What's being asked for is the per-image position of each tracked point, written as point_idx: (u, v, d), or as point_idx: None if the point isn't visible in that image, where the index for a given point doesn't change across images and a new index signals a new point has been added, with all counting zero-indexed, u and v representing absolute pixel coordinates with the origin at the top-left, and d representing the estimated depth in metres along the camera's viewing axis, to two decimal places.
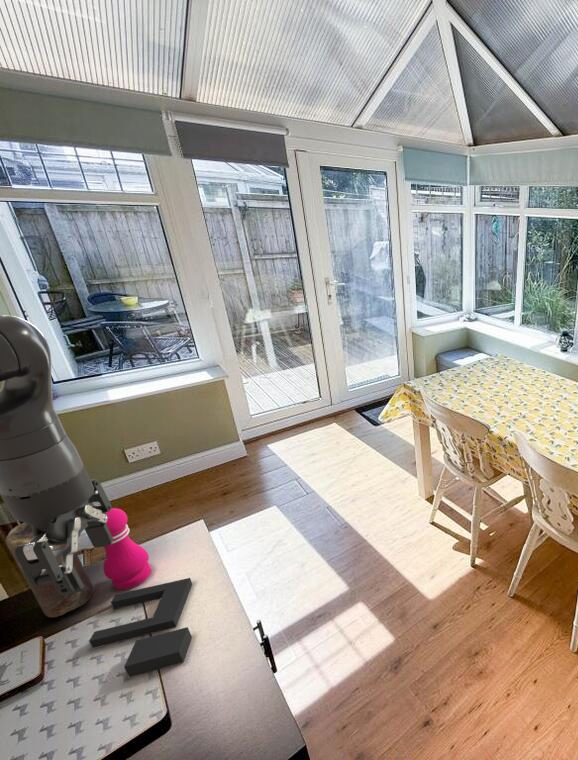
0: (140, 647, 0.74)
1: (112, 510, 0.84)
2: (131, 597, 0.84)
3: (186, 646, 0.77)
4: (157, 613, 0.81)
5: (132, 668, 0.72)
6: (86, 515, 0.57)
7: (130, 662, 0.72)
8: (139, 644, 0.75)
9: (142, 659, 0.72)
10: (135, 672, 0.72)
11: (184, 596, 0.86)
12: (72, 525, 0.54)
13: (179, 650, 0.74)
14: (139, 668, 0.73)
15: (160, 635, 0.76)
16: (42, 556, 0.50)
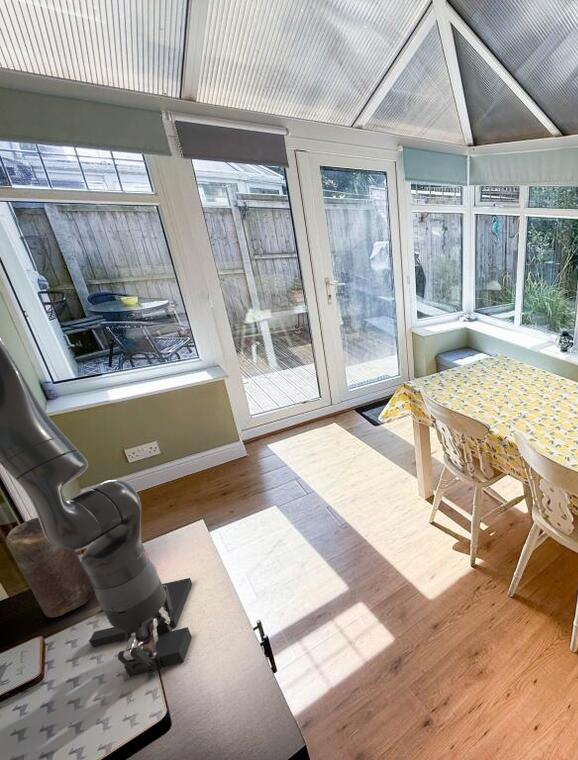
0: None
1: None
2: None
3: (186, 646, 0.77)
4: None
5: None
6: (158, 615, 0.73)
7: None
8: None
9: None
10: (135, 672, 0.72)
11: (184, 596, 0.86)
12: (152, 626, 0.71)
13: (179, 650, 0.74)
14: None
15: (160, 635, 0.76)
16: (137, 657, 0.67)
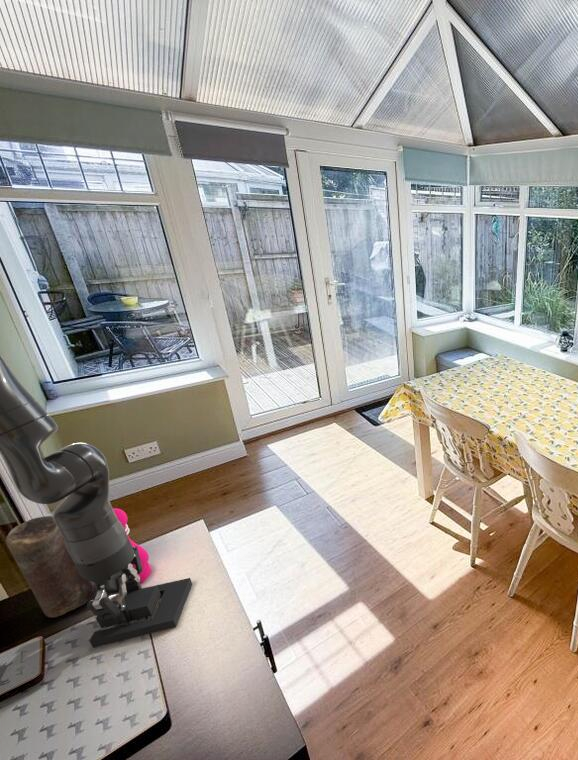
0: None
1: None
2: None
3: (155, 602, 0.83)
4: (157, 613, 0.81)
5: None
6: (127, 572, 0.80)
7: None
8: None
9: None
10: (106, 624, 0.79)
11: (184, 596, 0.86)
12: (120, 580, 0.77)
13: (148, 604, 0.80)
14: (110, 620, 0.79)
15: (130, 592, 0.83)
16: (106, 607, 0.73)
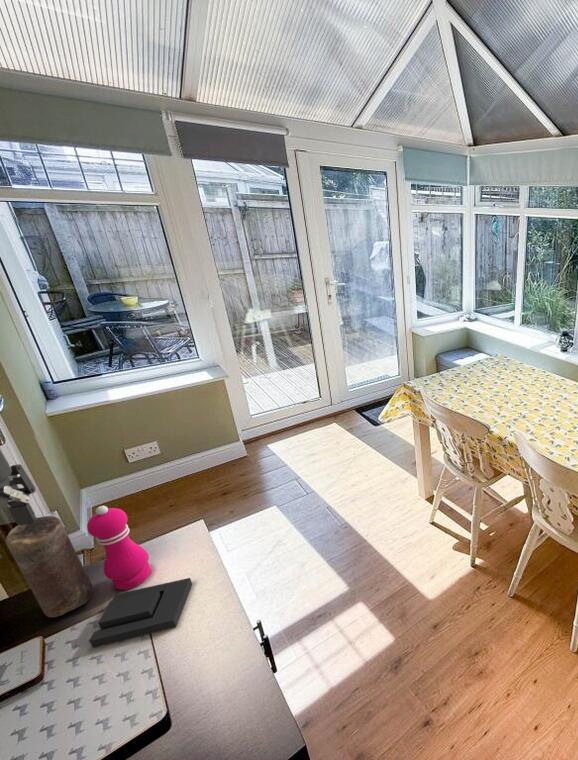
0: (113, 606, 0.81)
1: (112, 510, 0.84)
2: None
3: (156, 607, 0.84)
4: (157, 613, 0.81)
5: (105, 624, 0.79)
6: (6, 495, 0.65)
7: (104, 619, 0.79)
8: (113, 604, 0.82)
9: (114, 617, 0.79)
10: None
11: (184, 596, 0.86)
12: None
13: (149, 609, 0.81)
14: (112, 625, 0.79)
15: (132, 597, 0.83)
16: None
